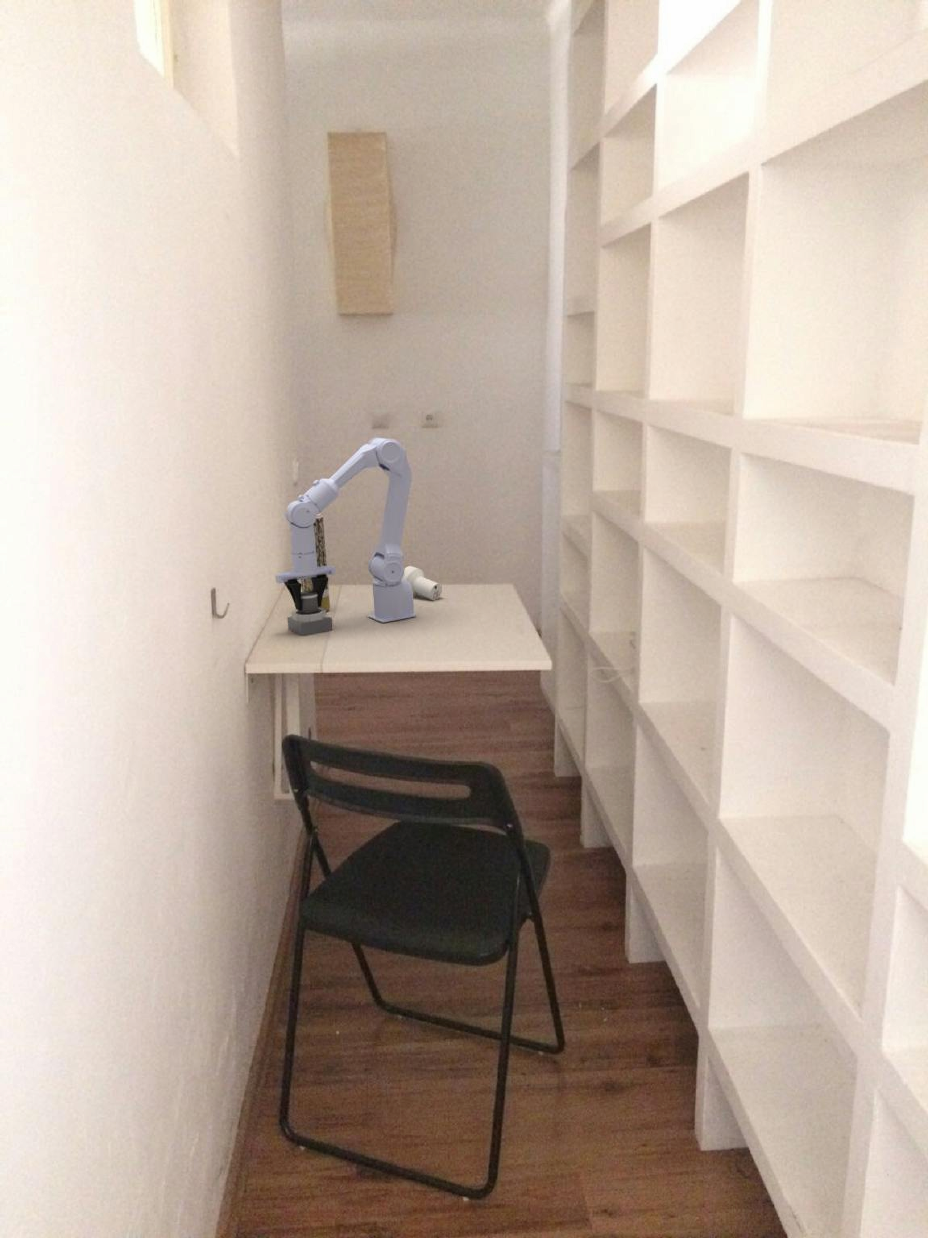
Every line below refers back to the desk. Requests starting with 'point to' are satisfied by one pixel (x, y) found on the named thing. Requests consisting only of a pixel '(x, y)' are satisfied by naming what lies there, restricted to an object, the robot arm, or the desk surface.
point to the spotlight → (421, 583)
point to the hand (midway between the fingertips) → (308, 607)
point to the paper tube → (319, 561)
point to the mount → (309, 622)
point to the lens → (309, 603)
